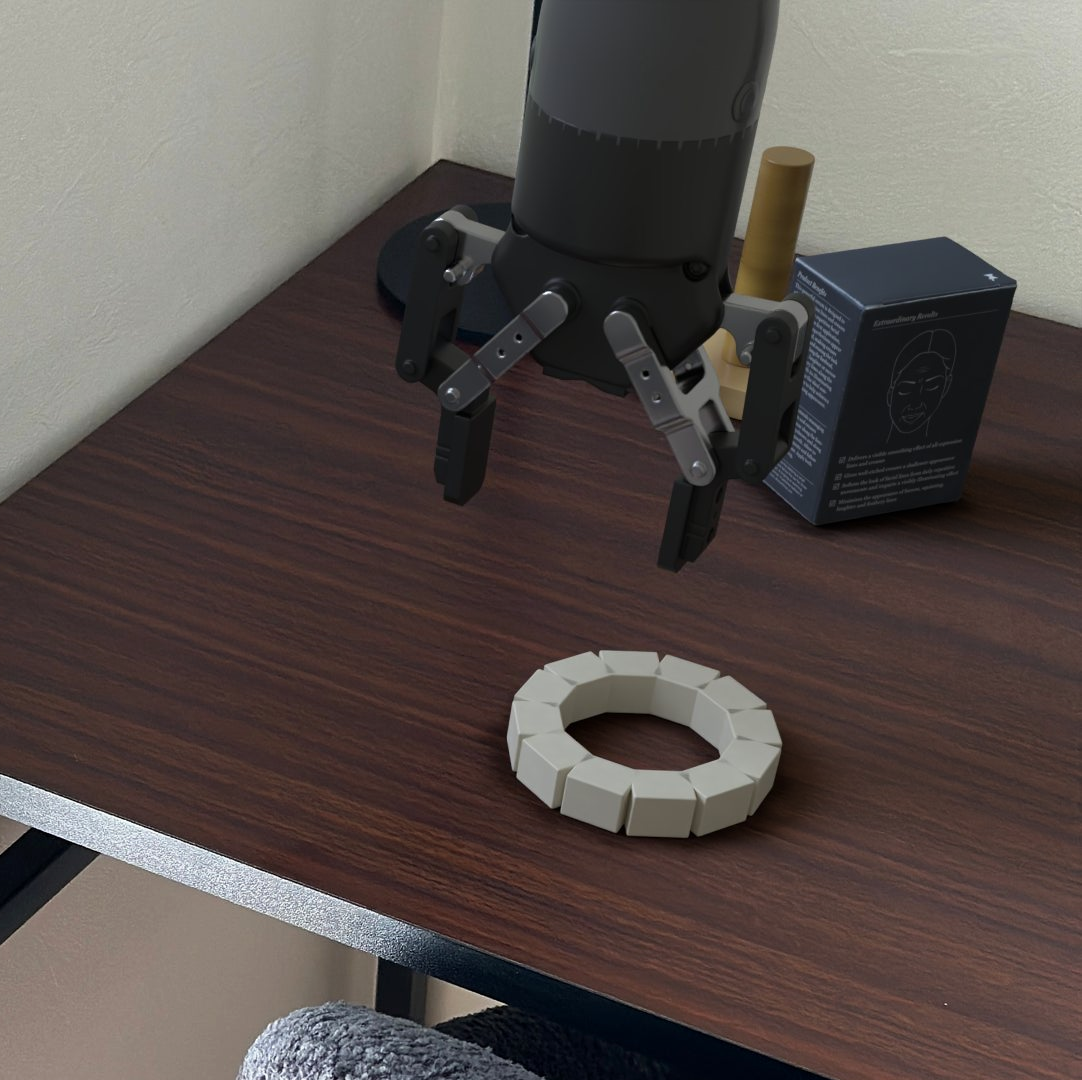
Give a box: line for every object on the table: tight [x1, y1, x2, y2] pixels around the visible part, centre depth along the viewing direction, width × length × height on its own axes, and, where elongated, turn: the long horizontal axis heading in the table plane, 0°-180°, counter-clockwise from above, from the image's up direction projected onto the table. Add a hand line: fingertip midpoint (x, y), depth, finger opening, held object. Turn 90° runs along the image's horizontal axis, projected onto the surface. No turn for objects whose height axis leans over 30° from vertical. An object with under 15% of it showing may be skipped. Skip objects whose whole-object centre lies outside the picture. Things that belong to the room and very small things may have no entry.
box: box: [762, 235, 1018, 526], centre depth 105 cm, size 8×6×11 cm
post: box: [670, 145, 816, 421], centre depth 112 cm, size 7×7×12 cm
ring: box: [506, 649, 783, 839], centre depth 91 cm, size 10×10×2 cm
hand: (566, 528), depth 87 cm, fingers open, 8 cm apart
